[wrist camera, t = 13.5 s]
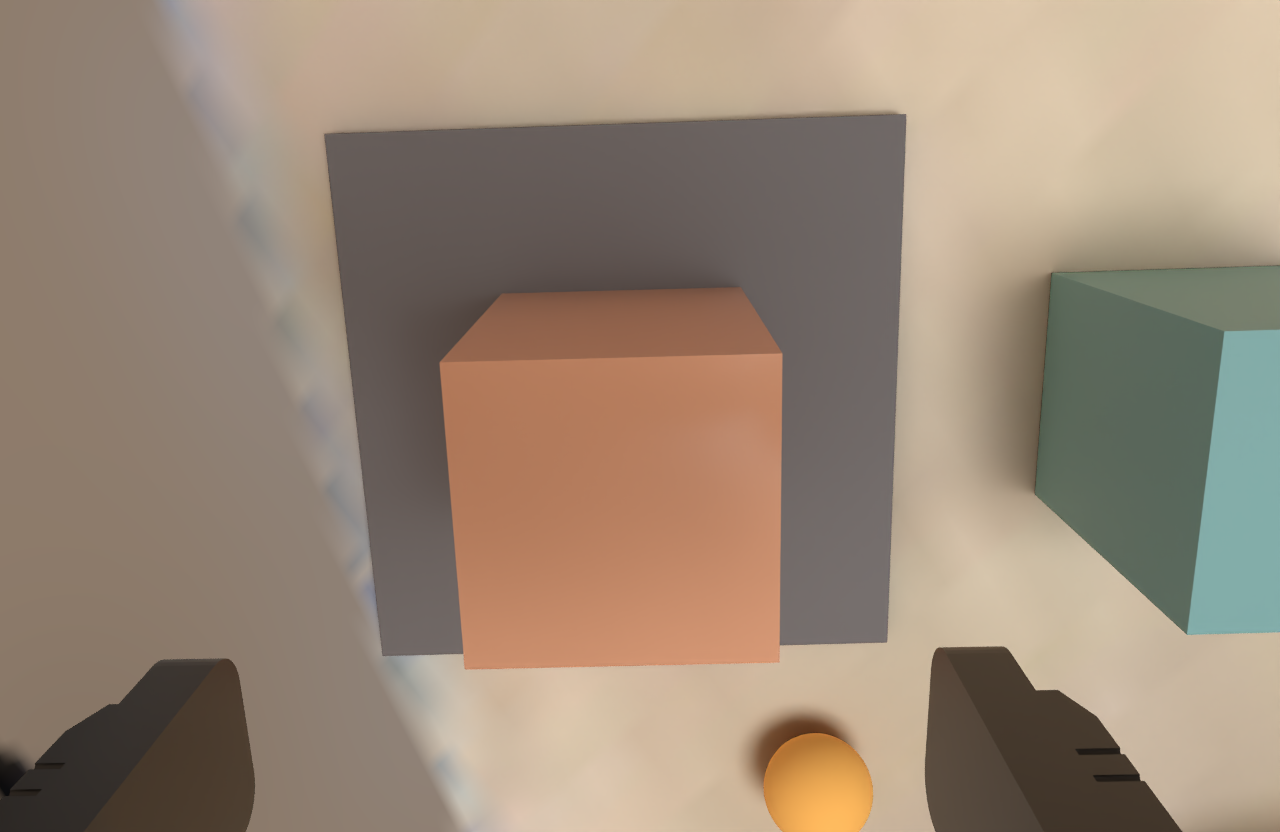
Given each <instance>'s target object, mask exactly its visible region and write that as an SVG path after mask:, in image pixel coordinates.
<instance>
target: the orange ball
mask: <svg viewBox="0 0 1280 832" xmlns="http://www.w3.org/2000/svg"><path fill="white" fill-rule="evenodd" d="M764 797H765V801H766V805H767V808H768V811H769V813H770V815H771V817H772V819H773V820H774V822H775V823H776V824H777V826H778V827H779V828H780V829H781V830H782V831H783V832H859V831H860V829H861V828H862V827H863V826H864V824H865V822H866V821H867V818H868V816H869V814H870V811H871V807H872V801H873V786H872V781H871V777H870V774H869V771H868V769H867V766H866V765H865V763H864V761H863V760H862V758H861V757H860V756H859V754H858V753H857V752H856V751H855V750H854V749H853V748H852V747H851V746H850V745H848V744H847V743H846V742H844V741H842V740H841V739H838V738H836V737H834V736H831V735H827V734H822V733H809V734H803V735H800V736H797V737H795V738H792V739H790V740H789V741H787V742H786V743H784V744H783V745H782V746H781V747H780V748H779V749H778V750H777V751H776V752H775V754H774V755H773V756H772V758H771V760H770V762H769V764H768V767H767V769H766V773H765V778H764Z"/></svg>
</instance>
